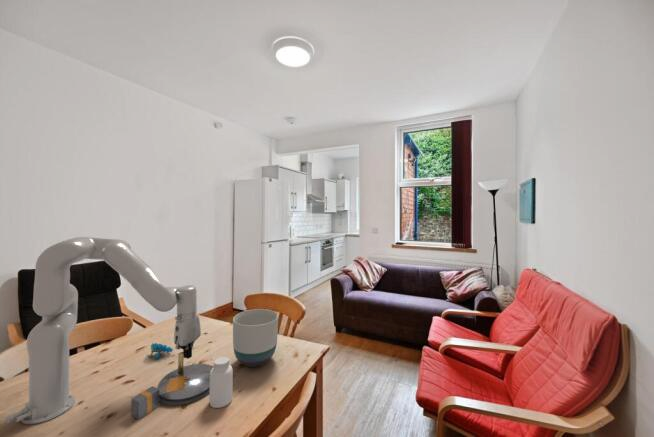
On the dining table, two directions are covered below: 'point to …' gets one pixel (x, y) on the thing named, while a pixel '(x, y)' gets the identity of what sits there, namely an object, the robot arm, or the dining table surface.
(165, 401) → the base plate
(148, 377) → the dining table surface
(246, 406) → the dining table surface
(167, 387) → the turntable
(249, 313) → the planter
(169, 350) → the blue green toy
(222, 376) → the pill bottle
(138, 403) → the link block
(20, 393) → the dining table surface
